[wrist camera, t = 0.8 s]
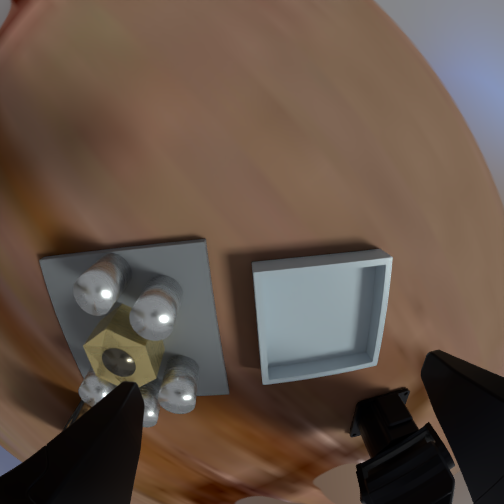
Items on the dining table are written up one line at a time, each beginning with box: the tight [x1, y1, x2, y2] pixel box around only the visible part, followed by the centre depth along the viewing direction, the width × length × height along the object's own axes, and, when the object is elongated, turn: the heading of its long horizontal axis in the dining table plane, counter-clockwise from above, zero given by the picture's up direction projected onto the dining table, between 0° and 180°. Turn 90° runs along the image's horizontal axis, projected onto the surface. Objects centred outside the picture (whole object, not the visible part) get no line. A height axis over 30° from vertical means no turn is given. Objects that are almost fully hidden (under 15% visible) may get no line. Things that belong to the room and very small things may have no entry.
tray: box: [252, 249, 393, 385], centre depth 22 cm, size 10×10×2 cm
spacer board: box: [39, 239, 229, 396], centre depth 22 cm, size 14×14×1 cm
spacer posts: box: [73, 253, 199, 427], centre depth 19 cm, size 14×10×4 cm
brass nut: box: [83, 304, 165, 387], centre depth 20 cm, size 6×5×4 cm
